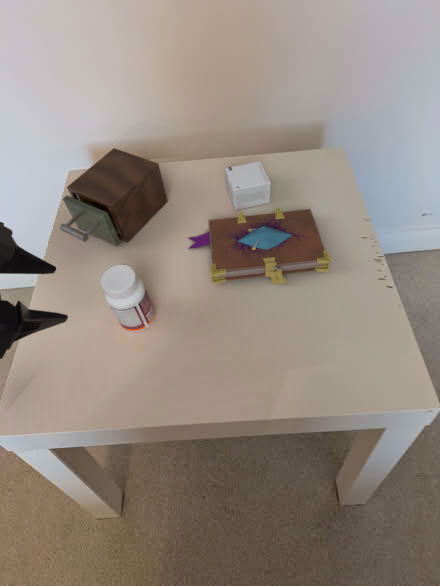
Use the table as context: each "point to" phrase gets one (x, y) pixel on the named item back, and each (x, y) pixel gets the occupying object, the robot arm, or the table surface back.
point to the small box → (248, 185)
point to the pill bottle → (127, 298)
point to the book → (264, 246)
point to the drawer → (91, 220)
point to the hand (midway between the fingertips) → (60, 293)
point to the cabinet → (124, 189)
